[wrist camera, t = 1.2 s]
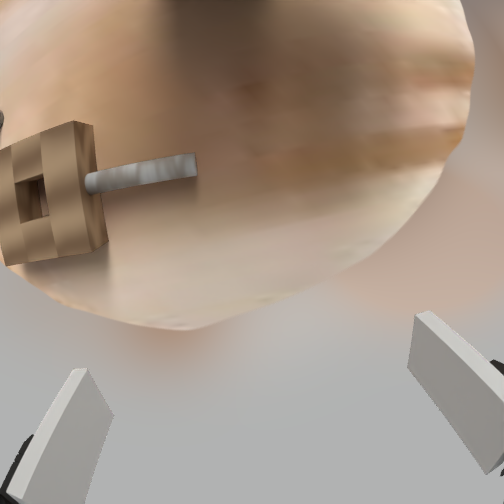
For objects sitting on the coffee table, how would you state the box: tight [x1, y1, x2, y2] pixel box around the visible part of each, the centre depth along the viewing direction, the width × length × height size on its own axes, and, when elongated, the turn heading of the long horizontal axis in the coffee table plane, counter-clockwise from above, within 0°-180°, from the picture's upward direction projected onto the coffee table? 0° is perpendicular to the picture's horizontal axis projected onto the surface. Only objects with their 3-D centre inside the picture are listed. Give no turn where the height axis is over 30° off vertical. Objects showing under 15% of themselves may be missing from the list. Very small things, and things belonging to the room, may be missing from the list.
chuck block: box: [0, 121, 197, 266], centre depth 28 cm, size 14×26×5 cm, turn 96°
